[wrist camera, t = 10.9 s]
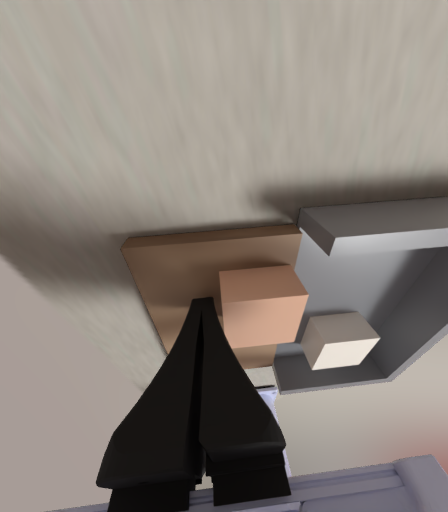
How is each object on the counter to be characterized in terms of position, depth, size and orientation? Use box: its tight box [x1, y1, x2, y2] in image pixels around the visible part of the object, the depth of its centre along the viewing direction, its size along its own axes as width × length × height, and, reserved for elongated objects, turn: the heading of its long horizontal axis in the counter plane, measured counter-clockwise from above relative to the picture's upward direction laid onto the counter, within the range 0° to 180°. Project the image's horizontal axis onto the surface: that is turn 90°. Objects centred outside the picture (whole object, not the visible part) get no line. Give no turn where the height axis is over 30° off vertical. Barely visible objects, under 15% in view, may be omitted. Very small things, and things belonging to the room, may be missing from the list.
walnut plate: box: [121, 224, 303, 369], centre depth 15 cm, size 16×10×1 cm, turn 3°
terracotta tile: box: [219, 265, 309, 349], centre depth 12 cm, size 4×4×2 cm
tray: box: [272, 196, 448, 395], centre depth 15 cm, size 18×12×4 cm, turn 3°
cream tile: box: [300, 312, 380, 370], centre depth 17 cm, size 4×4×2 cm
